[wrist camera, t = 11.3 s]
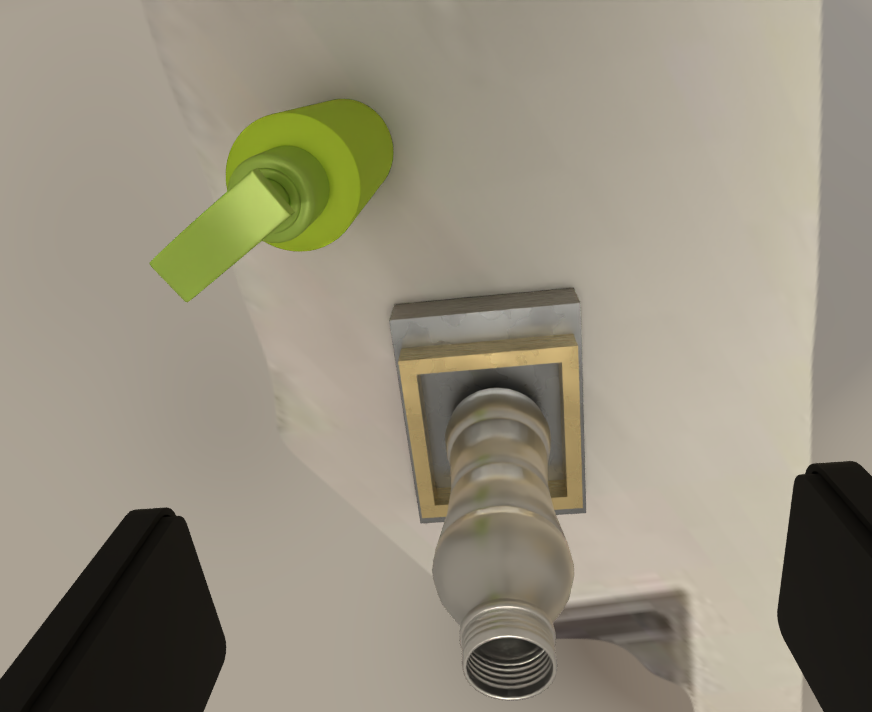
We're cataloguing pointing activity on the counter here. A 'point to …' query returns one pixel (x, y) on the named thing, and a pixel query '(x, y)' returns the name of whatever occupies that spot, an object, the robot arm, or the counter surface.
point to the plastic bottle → (502, 545)
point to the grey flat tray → (491, 381)
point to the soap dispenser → (284, 190)
